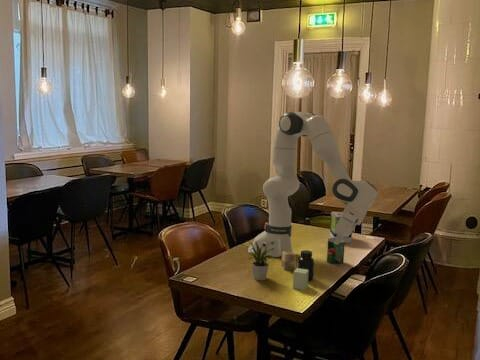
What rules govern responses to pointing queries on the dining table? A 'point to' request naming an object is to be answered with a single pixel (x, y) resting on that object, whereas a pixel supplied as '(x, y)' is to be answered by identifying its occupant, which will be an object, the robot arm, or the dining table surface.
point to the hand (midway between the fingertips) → (335, 244)
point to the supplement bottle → (307, 263)
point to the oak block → (288, 260)
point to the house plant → (260, 262)
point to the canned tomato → (335, 252)
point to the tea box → (334, 221)
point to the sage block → (300, 279)
